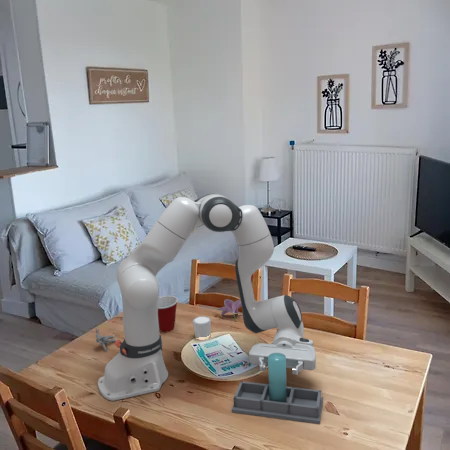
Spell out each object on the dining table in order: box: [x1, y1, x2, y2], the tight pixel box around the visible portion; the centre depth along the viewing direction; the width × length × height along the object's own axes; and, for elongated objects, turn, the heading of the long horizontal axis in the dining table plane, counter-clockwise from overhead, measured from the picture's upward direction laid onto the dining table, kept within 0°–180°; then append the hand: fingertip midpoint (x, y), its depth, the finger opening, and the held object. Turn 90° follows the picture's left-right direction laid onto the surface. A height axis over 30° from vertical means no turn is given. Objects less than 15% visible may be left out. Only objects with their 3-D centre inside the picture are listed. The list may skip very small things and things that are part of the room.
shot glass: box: [192, 315, 212, 339], centre depth 186 cm, size 7×7×7 cm
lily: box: [217, 298, 242, 322], centre depth 200 cm, size 12×12×10 cm
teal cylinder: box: [267, 353, 287, 403], centre depth 142 cm, size 5×5×15 cm
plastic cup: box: [158, 295, 179, 333], centre depth 193 cm, size 11×11×12 cm
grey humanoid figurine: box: [94, 328, 117, 353], centre depth 183 cm, size 10×6×9 cm
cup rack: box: [231, 380, 324, 425], centre depth 144 cm, size 25×11×4 cm, turn 74°
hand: (278, 370), depth 143 cm, fingers open, 8 cm apart
